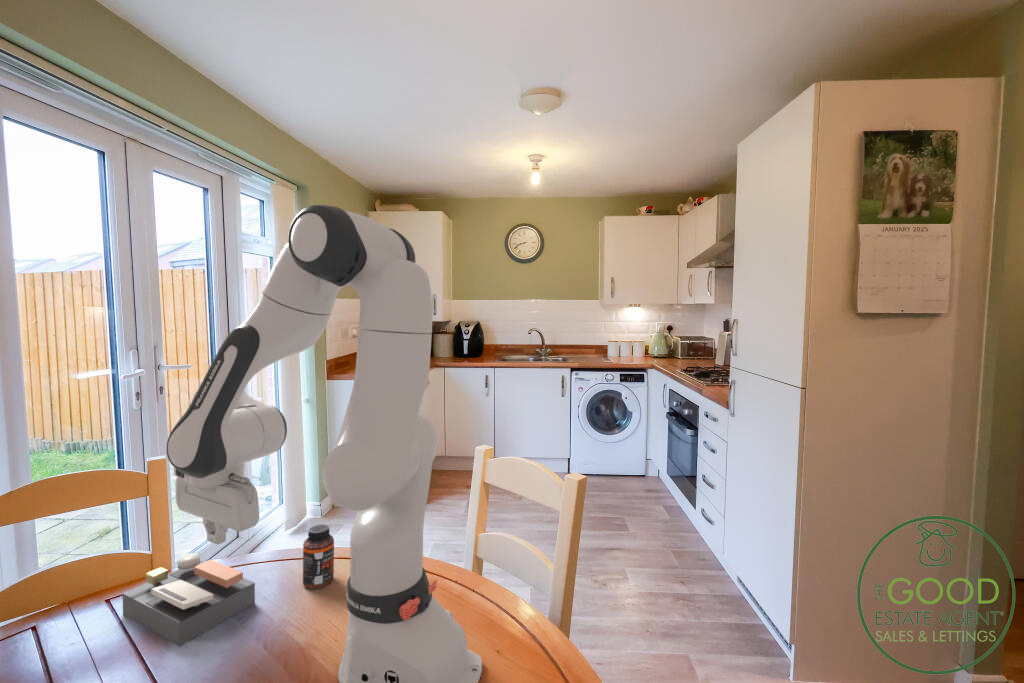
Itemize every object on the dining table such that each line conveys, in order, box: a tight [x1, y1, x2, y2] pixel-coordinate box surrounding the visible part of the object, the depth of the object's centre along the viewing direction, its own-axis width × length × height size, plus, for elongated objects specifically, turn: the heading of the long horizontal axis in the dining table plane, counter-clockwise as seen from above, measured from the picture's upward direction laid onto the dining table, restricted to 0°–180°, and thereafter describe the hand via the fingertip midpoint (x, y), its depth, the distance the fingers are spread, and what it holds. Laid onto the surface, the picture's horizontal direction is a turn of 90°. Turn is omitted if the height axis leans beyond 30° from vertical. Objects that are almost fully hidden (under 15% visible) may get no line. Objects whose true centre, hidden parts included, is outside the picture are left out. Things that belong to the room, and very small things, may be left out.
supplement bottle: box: [302, 524, 335, 590], centre depth 92 cm, size 6×6×11 cm
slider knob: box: [145, 566, 169, 586], centre depth 83 cm, size 2×2×2 cm
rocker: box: [151, 580, 213, 610], centre depth 78 cm, size 10×5×1 cm, turn 64°
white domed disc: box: [177, 552, 201, 570], centre depth 88 cm, size 4×4×1 cm
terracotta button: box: [194, 559, 244, 588], centre depth 84 cm, size 10×3×1 cm, turn 64°
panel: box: [122, 560, 256, 647], centre depth 82 cm, size 18×13×4 cm
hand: (216, 541), depth 84 cm, fingers closed
